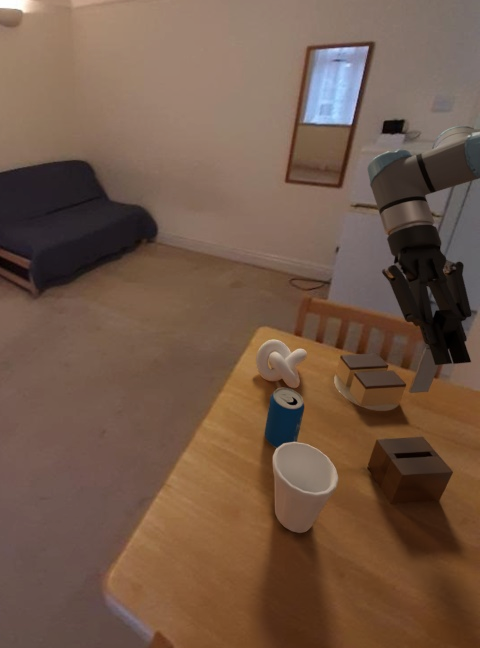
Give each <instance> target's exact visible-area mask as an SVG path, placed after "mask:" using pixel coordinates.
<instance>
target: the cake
mask: <svg viewBox="0 0 480 648" xmlns="http://www.w3.org/2000/svg"><path fill="white" fill-rule="evenodd" d="M389 367H390V366H389V364H388V363H387V362H386V361H385V360H384V359H383V358H382V357H381V356H380V354H378V353H377V352H374V353H373V352H371V353H355V354H340V356H339V359H338V364H337V367H336V371H335V375H337V376H338V377H339V379H340V380H341V381H342V383H343V384H344V385H345V387H350V386H351V388H350V391H349V392H350V393H351V395H352V396H353V397H354V399H355V400H356V401H357V402H358V404H359V405H360V406H359V405H358V406H359V407H361V406H373V405H390V404H399V405H400V404H401V400H402V398H403V395H404V393H405V390H406V387H407V383H406V382H405V380H403V379H402V378H401V376H399V375H398V374H397V373H396V371H394V370H393V369H391V370H388V369H389Z"/></svg>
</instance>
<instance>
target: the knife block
mask: <svg viewBox="0 0 480 648" xmlns="http://www.w3.org/2000/svg"><path fill="white" fill-rule="evenodd" d="M366 468H367V470H368V471H369V474H371V476H372V477H373V479H374V480H375V482H376V484H377V485H378V487H379V488H380V490H381V492H382V493H383V494H384V496H385V497H386V499H387V501H388V502H389V504H390V505H401V504H414V503H416V504H417V503H418V504H419V503H429V502H430V503H432V502H440V501H441V498H442V496H443V494H444V493H445V489H446V488H447V486H448V484H449V482H450V480H451V478H452V476H453V473H454V471H453V470H452V468H451V467H449V465H448V464H447V463H446V462H445V460H444V459H443V458H442V457H441V456H440V455H439V453H438V452H437V451H436V450H435V449H434V448H433V447H432V445H431V444H430V443H429V442H428V441H427V439H425V437H424V436H411V437H394V438H378V439H376V440H375V443H374V446H373V449H372V452H371V455H370V458H369V460H368V464H367V466H366Z"/></svg>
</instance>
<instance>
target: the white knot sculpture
mask: <svg viewBox="0 0 480 648" xmlns="http://www.w3.org/2000/svg"><path fill="white" fill-rule="evenodd" d="M307 356H308V353H307V351H306V350H305V349H304V348H297V349H295V350H294V351H291V349H290V348H289V347H288V345H287V344H285V343H284V342H283V341H281V340H280V339H269V340H266V341H265V342H264V343H262V344H261V346H259V349H258V350H257V353H256V357H255V366H256V369H257V373H258V374H259V375H260V376H261V378H263V379H264V380H266V381H268V382H279V381H280V380H282V381H283V382H284V383H285V384H286V386H287V387H288V388H290V389H297V388H298V387H300V383H301V379H300V376H299V371H298V369H297V366H299V365H300V364H301V363H302V362H304V361H305V360H306V359H307ZM270 367H271V368H270Z"/></svg>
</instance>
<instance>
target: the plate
mask: <svg viewBox="0 0 480 648" xmlns="http://www.w3.org/2000/svg"><path fill="white" fill-rule="evenodd" d="M333 382H334V386H335V388H336V390H337V391H338V393H339V394H341V395H342V397H344V398H345V399H346V400H347V401H349V402H351V403H352V404H353V405H354V404H355V405H356V406H359V407H360V408H361V407H362V408H364V409H367V410H372V411H380V412H386V411H391V410H394V409H395V408H397V407H398V406H399V405H400V404H390V405H373V406H360V405H359V404H358V402H357V401H356V400H355V399H354V397H353V396H352V395H351V393H350V392H349V391H350V388H351V386H350V387H345V385H344V384H343V383H342V381H341V380H340V379H339V377H338V376H337V375H336V374H335V375H334V377H333Z"/></svg>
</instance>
